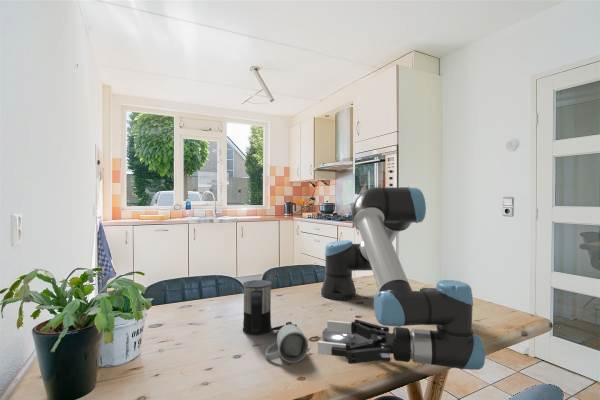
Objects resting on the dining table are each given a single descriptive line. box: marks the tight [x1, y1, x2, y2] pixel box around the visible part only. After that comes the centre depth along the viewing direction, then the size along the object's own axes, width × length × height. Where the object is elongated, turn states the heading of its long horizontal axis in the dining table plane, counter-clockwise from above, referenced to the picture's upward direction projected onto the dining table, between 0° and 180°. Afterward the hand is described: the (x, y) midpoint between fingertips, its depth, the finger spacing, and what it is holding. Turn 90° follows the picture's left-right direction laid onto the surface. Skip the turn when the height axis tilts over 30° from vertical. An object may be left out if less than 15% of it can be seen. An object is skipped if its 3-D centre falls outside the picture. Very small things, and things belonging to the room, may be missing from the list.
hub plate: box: [321, 327, 369, 346], centre depth 95 cm, size 15×15×1 cm
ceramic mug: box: [264, 324, 309, 364], centre depth 84 cm, size 11×8×8 cm
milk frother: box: [242, 279, 298, 336], centre depth 101 cm, size 14×16×15 cm
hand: (323, 335), depth 82 cm, fingers open, 13 cm apart
